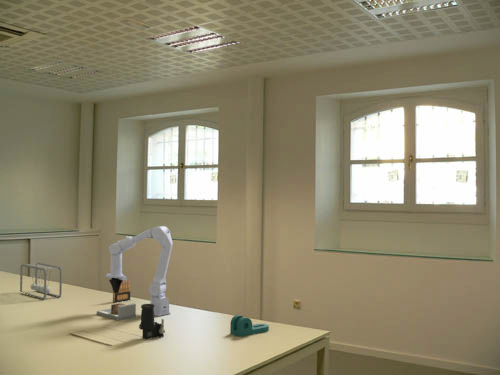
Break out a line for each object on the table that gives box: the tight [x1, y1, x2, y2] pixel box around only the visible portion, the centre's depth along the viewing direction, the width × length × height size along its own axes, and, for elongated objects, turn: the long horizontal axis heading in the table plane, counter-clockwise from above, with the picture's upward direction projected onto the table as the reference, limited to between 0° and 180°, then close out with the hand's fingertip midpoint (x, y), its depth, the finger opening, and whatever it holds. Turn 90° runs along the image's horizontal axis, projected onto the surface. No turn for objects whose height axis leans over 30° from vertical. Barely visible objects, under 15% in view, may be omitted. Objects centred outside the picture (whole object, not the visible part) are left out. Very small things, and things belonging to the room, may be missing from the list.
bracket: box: [229, 314, 270, 338], centre depth 234 cm, size 18×7×8 cm, turn 128°
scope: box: [138, 303, 166, 340], centre depth 224 cm, size 8×14×10 cm
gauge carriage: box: [110, 302, 127, 314], centre depth 261 cm, size 5×7×4 cm
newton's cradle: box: [19, 262, 63, 300], centre depth 311 cm, size 30×10×18 cm, turn 49°
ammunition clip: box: [112, 278, 131, 304], centre depth 297 cm, size 11×2×12 cm, turn 139°
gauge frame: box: [96, 303, 137, 322], centre depth 262 cm, size 20×9×6 cm, turn 50°
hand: (116, 293), depth 272 cm, fingers closed
